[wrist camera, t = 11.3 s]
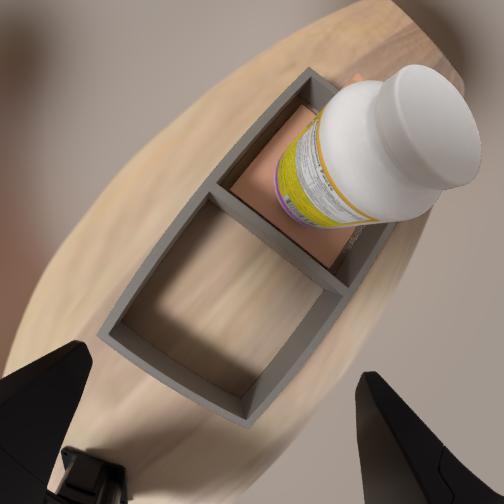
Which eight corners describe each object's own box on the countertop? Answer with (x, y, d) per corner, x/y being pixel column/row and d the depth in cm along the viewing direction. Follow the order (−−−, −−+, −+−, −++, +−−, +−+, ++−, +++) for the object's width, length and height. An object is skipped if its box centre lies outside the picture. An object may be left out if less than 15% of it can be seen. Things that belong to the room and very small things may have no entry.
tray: (241, 407, 20) (253, 446, 15) (109, 323, 18) (84, 345, 13) (403, 172, 22) (442, 160, 17) (301, 80, 20) (324, 47, 15)
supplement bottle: (350, 144, 20) (471, 73, 8) (358, 228, 21) (504, 217, 8) (267, 139, 19) (350, 21, 7) (273, 232, 19) (390, 213, 7)
